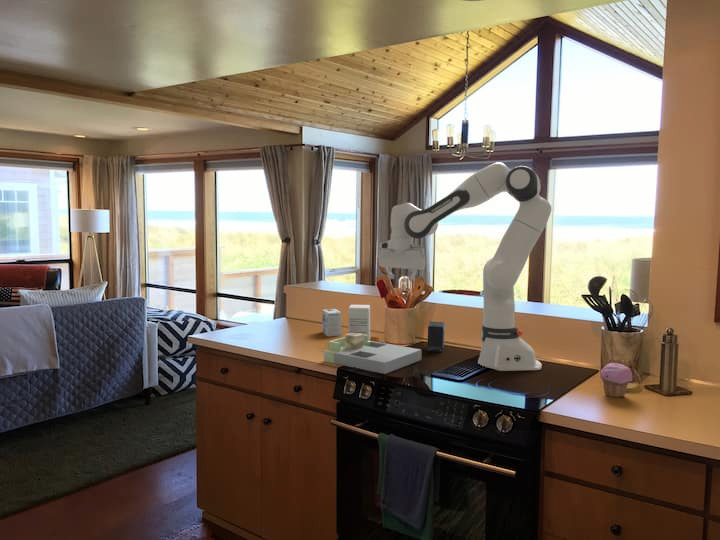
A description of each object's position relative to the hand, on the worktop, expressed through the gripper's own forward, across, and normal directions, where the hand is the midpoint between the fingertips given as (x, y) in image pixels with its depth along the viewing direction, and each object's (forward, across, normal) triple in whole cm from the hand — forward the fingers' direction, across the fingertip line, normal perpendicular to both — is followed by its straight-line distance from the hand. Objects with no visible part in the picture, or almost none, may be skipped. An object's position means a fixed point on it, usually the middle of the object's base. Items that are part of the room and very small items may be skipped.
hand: (401, 279), depth 225 cm
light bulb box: (+29, +45, -10) cm, 55 cm away
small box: (+29, -8, -14) cm, 34 cm away
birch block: (+25, +10, +18) cm, 32 cm away
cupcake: (+29, -82, +6) cm, 87 cm away
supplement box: (+29, +27, -8) cm, 41 cm away
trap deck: (+29, +1, +17) cm, 34 cm away
